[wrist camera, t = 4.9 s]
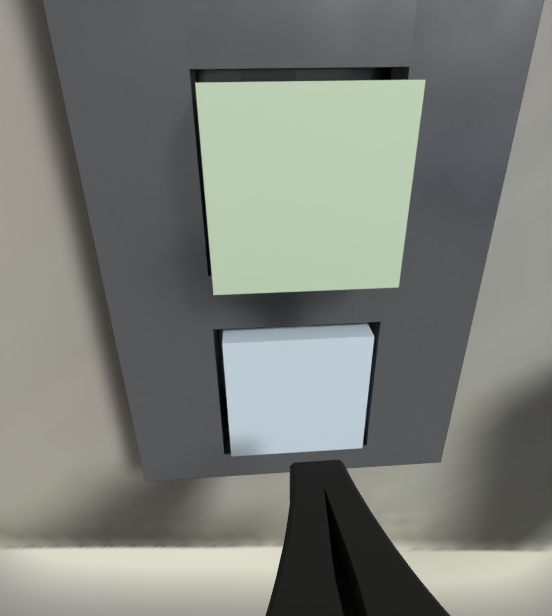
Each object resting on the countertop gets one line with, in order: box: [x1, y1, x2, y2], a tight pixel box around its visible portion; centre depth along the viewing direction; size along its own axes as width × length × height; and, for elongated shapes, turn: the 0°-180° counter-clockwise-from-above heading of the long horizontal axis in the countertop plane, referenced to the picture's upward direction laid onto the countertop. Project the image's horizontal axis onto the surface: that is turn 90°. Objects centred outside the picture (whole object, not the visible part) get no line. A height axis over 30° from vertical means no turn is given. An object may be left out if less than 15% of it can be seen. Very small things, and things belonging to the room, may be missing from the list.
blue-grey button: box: [222, 322, 374, 456], centre depth 17 cm, size 5×5×3 cm
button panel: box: [43, 0, 544, 482], centre depth 14 cm, size 12×23×3 cm, turn 1°
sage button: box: [195, 80, 426, 295], centre depth 12 cm, size 5×5×3 cm
